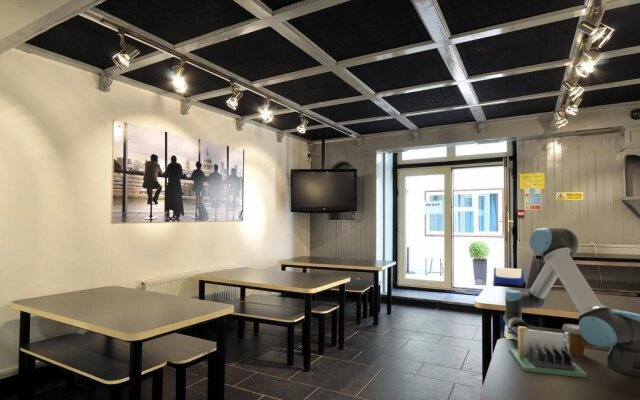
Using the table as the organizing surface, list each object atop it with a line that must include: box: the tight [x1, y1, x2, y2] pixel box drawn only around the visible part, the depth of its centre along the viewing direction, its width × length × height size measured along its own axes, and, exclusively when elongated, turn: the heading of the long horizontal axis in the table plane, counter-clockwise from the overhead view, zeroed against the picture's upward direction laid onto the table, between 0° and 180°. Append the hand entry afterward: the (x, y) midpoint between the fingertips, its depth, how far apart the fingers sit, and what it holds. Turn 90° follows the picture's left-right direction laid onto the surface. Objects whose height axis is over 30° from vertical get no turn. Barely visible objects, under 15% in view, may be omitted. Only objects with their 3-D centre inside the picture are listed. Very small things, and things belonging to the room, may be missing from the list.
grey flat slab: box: [524, 328, 564, 356], centre depth 159 cm, size 15×2×11 cm, turn 67°
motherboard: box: [508, 348, 587, 378], centre depth 158 cm, size 22×22×2 cm
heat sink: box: [517, 326, 574, 371], centre depth 154 cm, size 19×11×13 cm, turn 77°
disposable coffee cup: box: [561, 323, 586, 357], centre depth 170 cm, size 10×10×12 cm
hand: (533, 342), depth 162 cm, fingers closed
